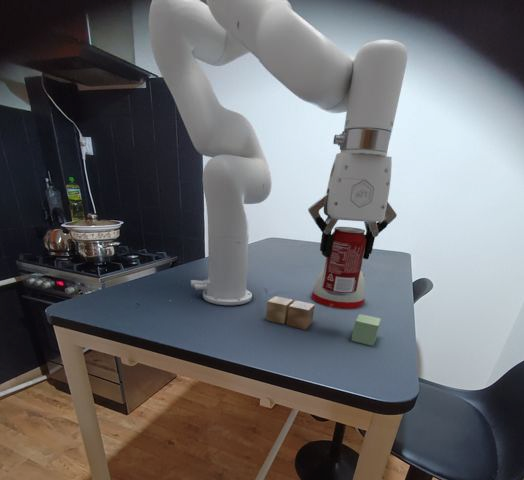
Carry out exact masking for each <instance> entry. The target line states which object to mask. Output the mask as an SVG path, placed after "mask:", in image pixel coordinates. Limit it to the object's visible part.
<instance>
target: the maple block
mask: <svg viewBox="0 0 524 480" xmlns="http://www.w3.org/2000/svg"><path fill="white" fill-rule="evenodd" d="M293 302H294V299H291V298H286V297H281V296H276V295H275V296H272V298H270V299H269V300H267V303H266V305H267V306H266V317H265V320H266V321H269V322H273V323H277V324H281V325H285V324H287V319H288V310H289V306H290V305H291V304H292V303H293Z"/></svg>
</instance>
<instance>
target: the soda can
mask: <svg viewBox="0 0 524 480" xmlns="http://www.w3.org/2000/svg"><path fill="white" fill-rule="evenodd" d="M333 230H334V231H333V232H331V234H332V235H333V238H332V245H331V251H330V256H329V257H325V264H324V267H325V269H324V275H323V281H322V289H324V290H325V291H326V292H327V293H329V294H332V295H336V296H349V295H351V294H353V293H355V292H356V289H357V284H358V280H359V275H360V270H362V265H363V261H364V258H363V256H364V251H365V247H366V242H367V241H366V238H365V235H366V234H365V233H366V229H364V228H359V227H351V226H334V227H333ZM364 234H365V235H364Z"/></svg>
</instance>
